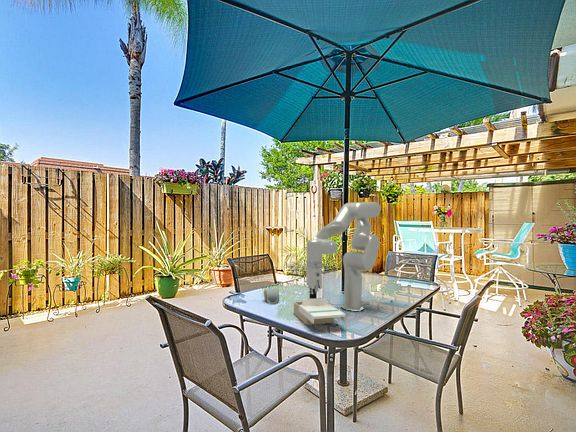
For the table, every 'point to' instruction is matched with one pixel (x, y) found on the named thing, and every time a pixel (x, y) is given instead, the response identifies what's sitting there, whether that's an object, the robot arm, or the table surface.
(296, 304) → the mailer box
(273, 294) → the ceramic mug
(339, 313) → the lid
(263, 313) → the table surface
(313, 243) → the robot arm
